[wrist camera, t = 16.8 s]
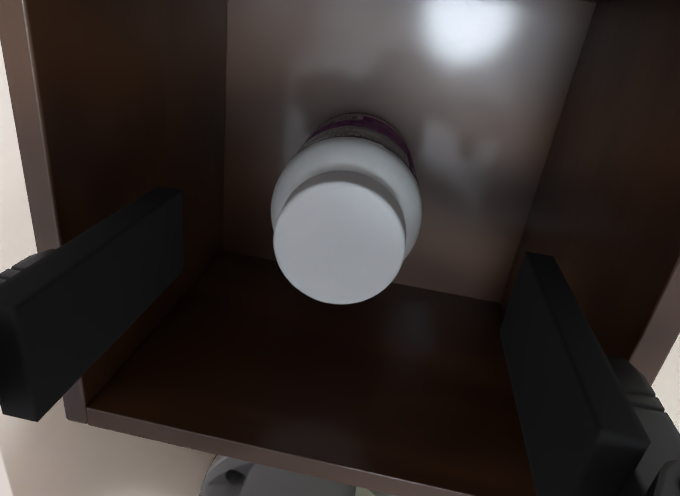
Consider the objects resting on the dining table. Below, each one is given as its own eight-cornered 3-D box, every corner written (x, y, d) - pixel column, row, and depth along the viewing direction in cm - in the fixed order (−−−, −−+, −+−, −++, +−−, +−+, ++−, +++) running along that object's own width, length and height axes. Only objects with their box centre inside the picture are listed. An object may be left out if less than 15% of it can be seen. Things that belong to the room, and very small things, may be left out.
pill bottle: (387, 236, 24) (387, 349, 16) (287, 199, 24) (229, 293, 15) (431, 134, 22) (461, 199, 13) (322, 92, 22) (278, 130, 13)
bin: (509, 310, 26) (571, 537, 15) (214, 254, 28) (65, 420, 16) (618, -17, 19) (894, -65, 8) (217, -68, 21) (-39, -171, 9)
